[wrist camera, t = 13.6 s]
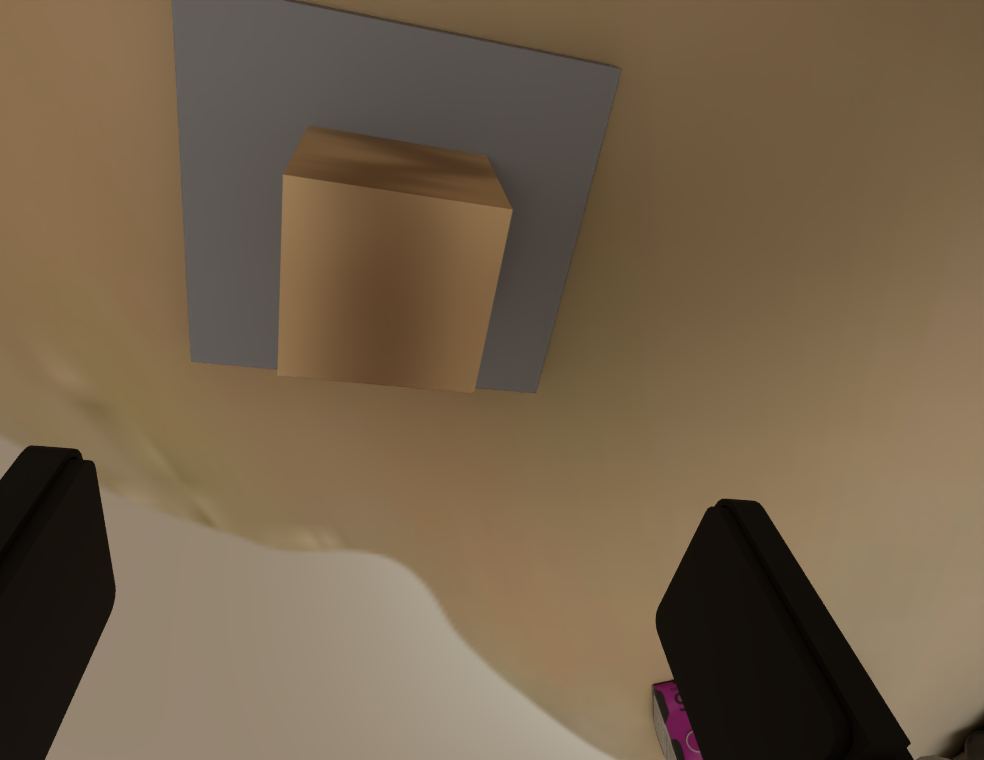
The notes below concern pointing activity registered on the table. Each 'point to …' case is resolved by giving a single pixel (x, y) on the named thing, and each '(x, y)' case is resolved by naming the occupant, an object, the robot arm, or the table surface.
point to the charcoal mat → (380, 113)
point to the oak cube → (388, 261)
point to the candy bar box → (673, 724)
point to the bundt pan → (973, 747)
